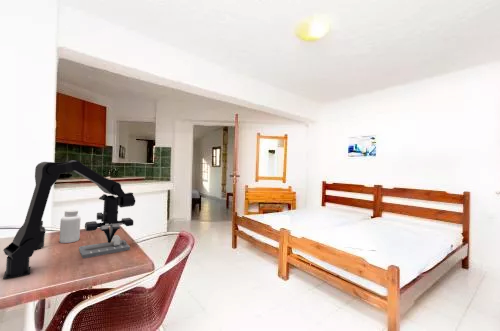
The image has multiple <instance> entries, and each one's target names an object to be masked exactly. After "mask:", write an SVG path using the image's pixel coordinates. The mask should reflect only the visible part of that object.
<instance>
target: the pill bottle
mask: <svg viewBox="0 0 500 331" xmlns="http://www.w3.org/2000/svg"><path fill="white" fill-rule="evenodd" d="M78 213H79V211H78V210H77V209H68V210H67V209H66V210H64V216H61V218H60V223H59V225H60V226H59V227H60V228H59V239H58V240H59V243H61V244H67V243H74V242H75V243H76V242H78V241H79V240H80V235H81V234H80V233H81V216H80V215H78Z"/></svg>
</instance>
